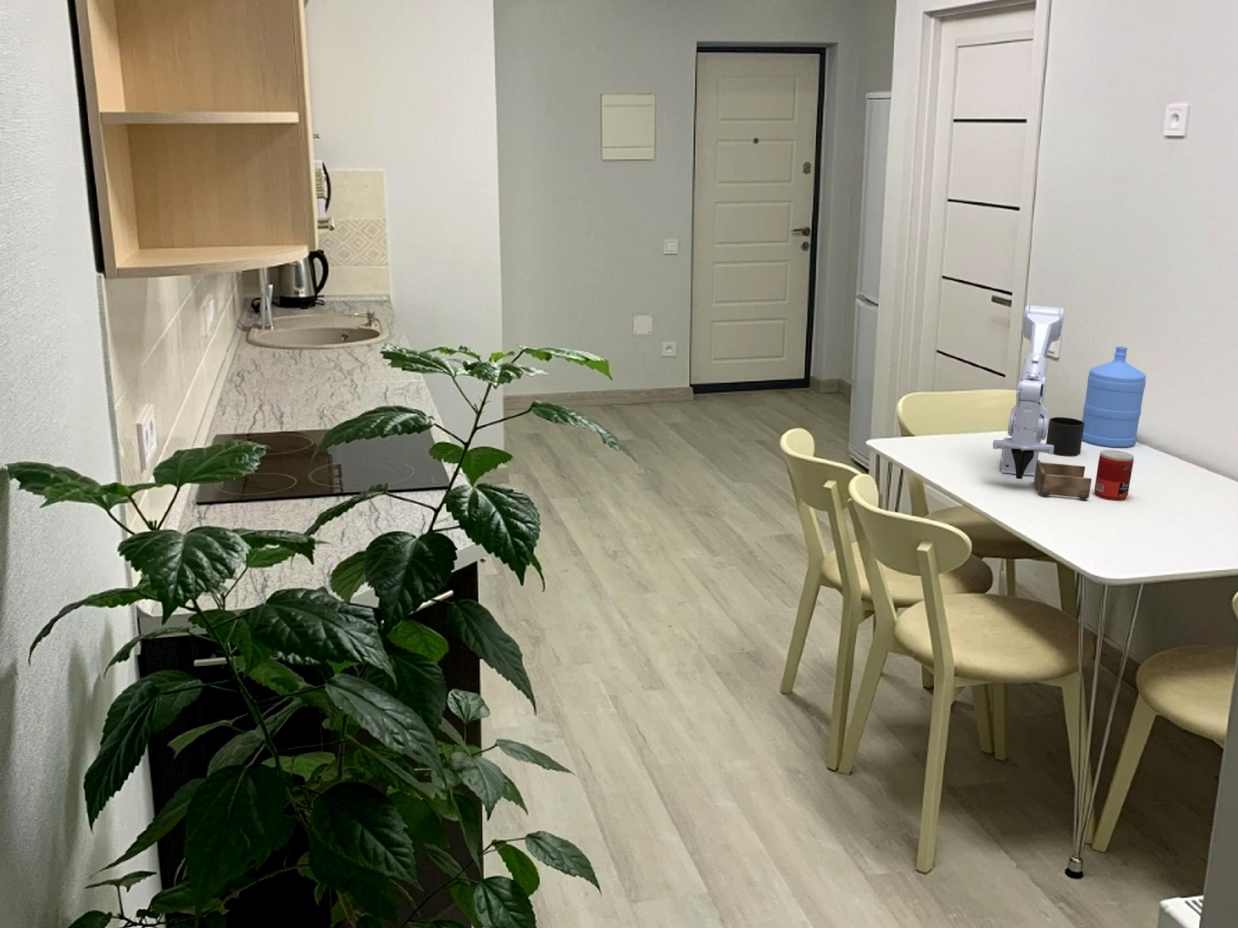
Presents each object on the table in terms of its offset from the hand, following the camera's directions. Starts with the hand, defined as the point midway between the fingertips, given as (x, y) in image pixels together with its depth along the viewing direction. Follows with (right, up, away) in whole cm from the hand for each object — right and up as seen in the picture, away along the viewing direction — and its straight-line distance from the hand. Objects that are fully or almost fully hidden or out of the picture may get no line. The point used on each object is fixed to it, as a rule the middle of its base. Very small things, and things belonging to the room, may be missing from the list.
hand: (1018, 477), depth 304 cm
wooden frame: (+10, -3, -1) cm, 11 cm away
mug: (+24, +7, +36) cm, 44 cm away
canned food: (+22, -5, -4) cm, 23 cm away
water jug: (+42, +10, +48) cm, 65 cm away
